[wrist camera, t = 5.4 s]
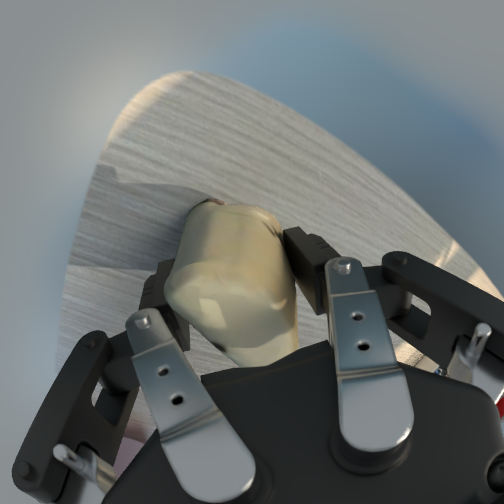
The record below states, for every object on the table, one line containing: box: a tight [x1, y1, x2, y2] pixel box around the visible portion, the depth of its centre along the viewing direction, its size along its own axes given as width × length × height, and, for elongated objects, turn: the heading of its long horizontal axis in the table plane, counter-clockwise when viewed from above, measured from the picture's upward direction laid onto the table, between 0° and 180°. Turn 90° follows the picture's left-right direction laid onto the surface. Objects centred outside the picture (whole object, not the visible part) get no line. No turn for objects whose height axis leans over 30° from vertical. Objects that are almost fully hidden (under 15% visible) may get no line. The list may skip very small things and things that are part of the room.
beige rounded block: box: [164, 198, 299, 368], centre depth 12 cm, size 6×5×8 cm
